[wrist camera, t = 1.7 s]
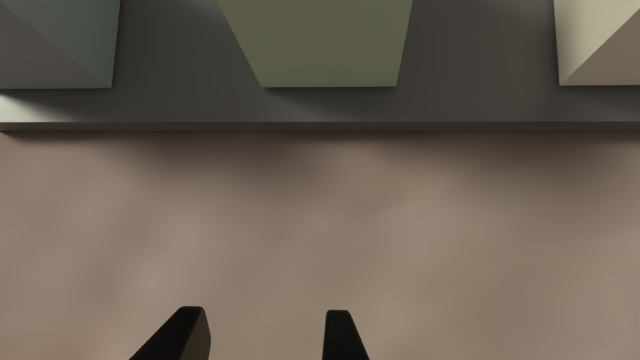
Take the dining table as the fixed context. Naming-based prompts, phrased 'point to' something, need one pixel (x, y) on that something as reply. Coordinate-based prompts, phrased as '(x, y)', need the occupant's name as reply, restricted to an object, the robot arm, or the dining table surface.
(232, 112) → the keypad base
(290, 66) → the light green rectangular block
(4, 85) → the slate key
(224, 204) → the dining table surface
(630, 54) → the cream key
